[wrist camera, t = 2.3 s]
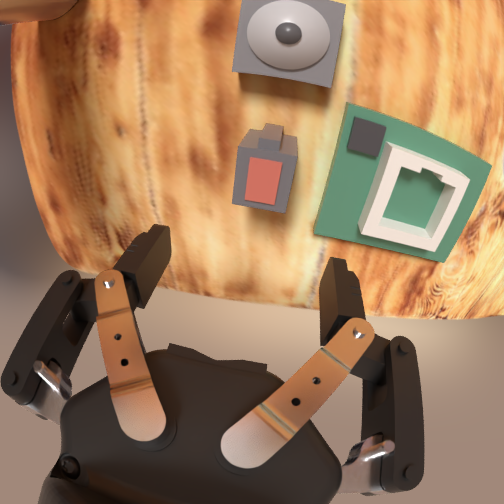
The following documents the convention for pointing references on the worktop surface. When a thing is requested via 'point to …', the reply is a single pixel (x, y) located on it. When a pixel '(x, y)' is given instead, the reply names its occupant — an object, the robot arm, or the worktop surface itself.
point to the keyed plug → (265, 169)
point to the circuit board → (398, 186)
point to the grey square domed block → (289, 39)
